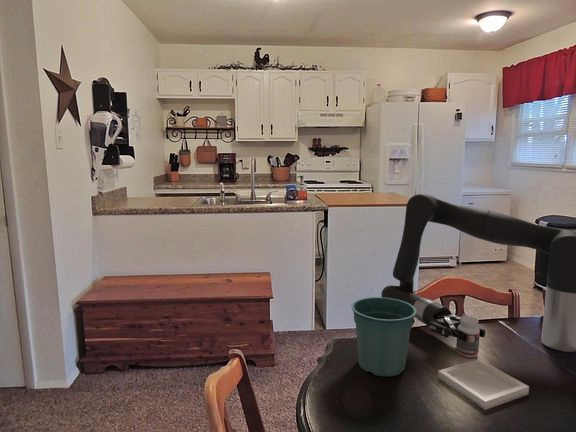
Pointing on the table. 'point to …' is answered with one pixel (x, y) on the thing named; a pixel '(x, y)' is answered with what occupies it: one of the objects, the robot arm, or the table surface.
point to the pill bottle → (469, 337)
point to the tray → (483, 383)
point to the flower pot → (383, 334)
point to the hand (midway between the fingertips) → (475, 336)
